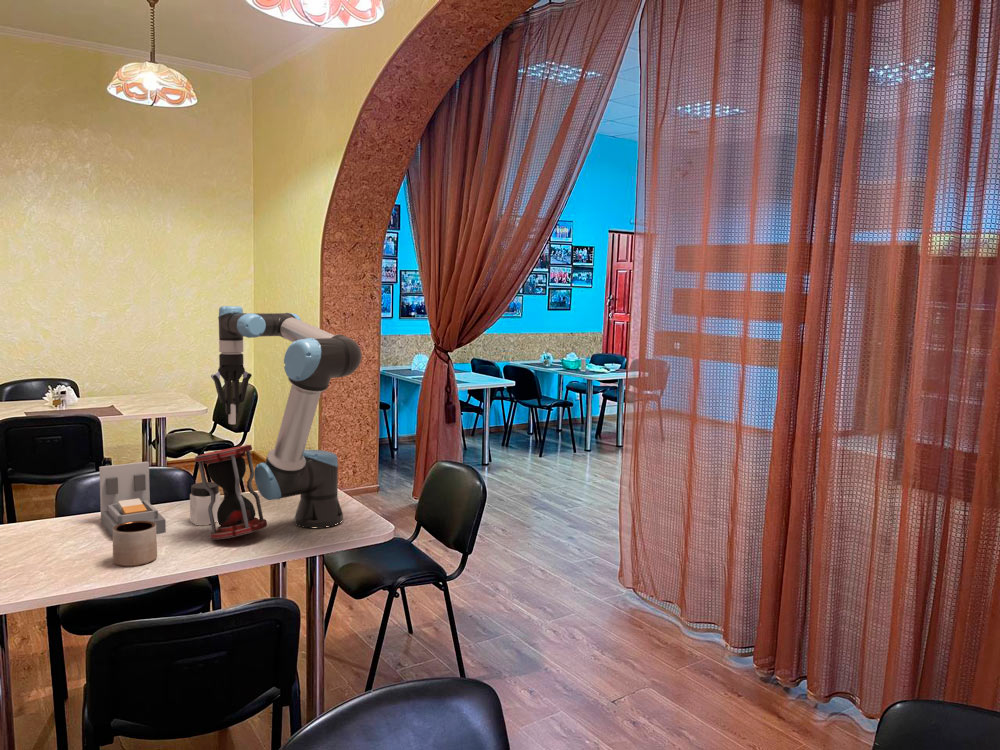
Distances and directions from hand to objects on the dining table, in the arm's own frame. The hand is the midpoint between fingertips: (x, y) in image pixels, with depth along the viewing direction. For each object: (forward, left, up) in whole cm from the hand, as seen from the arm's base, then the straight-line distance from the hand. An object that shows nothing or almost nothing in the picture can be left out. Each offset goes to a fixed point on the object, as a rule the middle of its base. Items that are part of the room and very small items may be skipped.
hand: (232, 423), depth 253 cm
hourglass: (-30, +8, -28) cm, 42 cm away
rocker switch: (-3, +32, -24) cm, 40 cm away
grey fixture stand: (-3, +32, -29) cm, 43 cm away
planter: (-33, +38, -30) cm, 58 cm away
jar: (-9, +12, -30) cm, 33 cm away
